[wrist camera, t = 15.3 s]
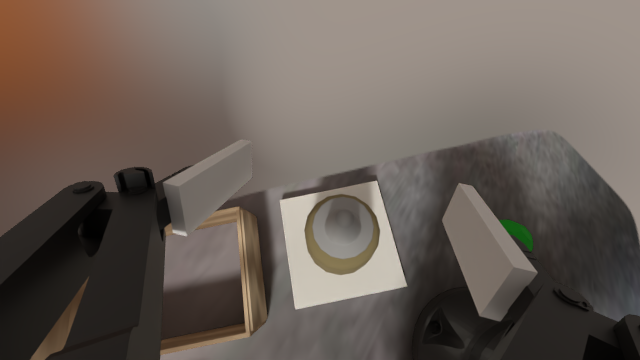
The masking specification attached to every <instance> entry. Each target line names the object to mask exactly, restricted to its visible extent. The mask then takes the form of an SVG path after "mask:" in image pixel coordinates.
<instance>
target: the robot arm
mask: <svg viewBox="0 0 640 360" xmlns="http://www.w3.org/2000/svg"><path fill="white" fill-rule="evenodd" d="M114 178H115V182H116V185H117V188H118V191H119V192H105V189H104V186H103V184H102V183H100V182H95V181H89V182H88V181H84V182H81V183H80V182H78V183H75V184H73V185H70V186H68V187H66V188H64V189H63V190H62V191H60V192H59V193H58V194H56V195H55V196H54V197H52V198H51V199H50V200H48V201H47V202H46V203H44V204H43V205H42V206H40V207H39V208H38V209H37V210H35V211H34V212H33V213H32V214H30V215H29V216H27V217H26V218H25V219H23V220H22V221H21V222H19V223H18V224H17V225H15V226H14V227H13V228H12V229H10V230H9V231H8V232H6V233H5V234H4V235H2V236H1V237H0V360H30V359H31V357H32V356H33V355H34V353H35V352H36V350H37V349H38V348H39V346H40V345H41V343H42V342H43V341H44V339H45V338H46V336H47V335H48V333H49V332H50V331H51V329H52V328H53V326H54V325H55V324H56V322H57V321H58V319H59V318H60V317H61V315H62V314H63V312H64V311H65V309H66V308H67V307H68V305H69V304H70V302H71V301H72V300H73V298H74V297H75V295H76V294H77V293H78V291H79V290H80V288H81V287H82V285H83V284H84V283H85V281H86V280H87V278H88V277H89V278H88V281H87V284H86V287H85V290H84V292H83V295H82V298H81V301H80V304H79V307H78V309H77V312H76V315H75V318H74V321H73V324H72V326H71V329H70V332H69V335H68V338H67V341H66V343H65V345H64V347H63V349H62V350H61V351H58V352H55V353H52V354H50V355H49V356H48V357H47V358H46V359H45V360H160V349H161V327H162V305H163V283H164V261H165V239H166V232H165V227H166V226H167V225H169V224H170V223H171V226H172V231H173V233H176V234H179V235H183V236H188V235H189V234H191V233H192V232H193V231H194V230H195V229H196V228H197V227H198V226H199V225H201V224H202V223H203V222H204V221H205V220H206V219H207V218H208V217H209V216H211V215H212V214H213V213H214V212H215V211H216V210H217V209H218V208H219V207H221V206H222V205H223V204H224V203H225V202H226V201H227V200H228V199H229V198H230V197H232V196H233V195H234V194H235V193H236V192H237V191H238V190H239V189H240V188H242V187H243V186H244V185H245V184H246V183H247V182H248V181H249V180H250V179H252V141H247V140H242V139H241V140H239V141H237V142H235V143H234V144H232V145H230V146H228V147H226V148H224V149H223V150H221V151H219V152H217V153H215V154H214V155H212V156H210V157H208V158H206V159H205V160H203V161H201V162H199V163H197V164H195V165H192V166H188V167H185V168H183V169H181V170H179V171H178V172H176V173H174V174H172V175H171V176H168V177H166V178H164V179H163V180H161V181H159V182H157V183H154V178H153V174H152V171H151V170H150V169H149V168H144V167H134V168H127V169H123V170H120V171H118V172H116V173H115V174H114ZM442 222H443V225H444V227H445V230H446V232H447V235H448V237H449V240H450V242H451V245H452V247H453V250H454V253H455V255H456V258H457V260H458V263H459V265H460V268H461V270H462V273H463V275H464V278H465V280H466V283H467V285H468V287H462V288H455V289H451V290H448V291H445V292H443V293H441V294H440V295H438V296H436V297H435V298H434V299H433V300H431V301H430V302H429V303H428V305H427V306H426V307H425V308H424V310H423V311H422V313H421V314H420V316H419V318H418V321H417V323H416V326H415V330H414V335H413V343H412V354H413V360H640V316H636V315H630V314H629V315H627V316H625V317H624V318H622V319H621V320H620V321H619V322H617V321H615V320H612V319H610V318H608V317H605V316H603V315H601V314H599V313H596V312H594V311H593V307H592V306H591V305H590V303H589V302H588V301H587V300H586V299H585V298H584V297H582V296H581V295H580V294H579V293H577V292H575V291H574V290H572V289H571V288H569V287H567V286H565V285H563V284H560V283H556V282H555V281H554V280H553V279H552V278H551V276H550V275H549V274H548V273H547V271H546V270H545V269H544V268H543V266H542V265H541V264H540V263H539V261H536V258H535V256H534V255H533V254H531V251H530V250H529V249H528V248H527V246H526V245H525V244H524V243H523V242H521V241H520V240H519V239H518V238H516V237H515V236H514V235H510V234H508V232H507V231H506V230H505V228H504V227H503V226H502V224H501V223H500V222H499V220H498V219H497V218H496V217H495V215H494V214H493V213H492V211H491V210H490V209H489V207H488V206H487V205H486V203H485V202H484V201H483V199H482V198H481V197H480V195H479V194H478V193H477V191H476V190H475V189H474V187H473V186H471V185H466V184H461V183H458V185H457V188H456V190H455V192H454V194H453V197H452V199H451V201H450V203H449V206H448V208H447V210H446V212H445V215H444V217H443V219H442Z"/></svg>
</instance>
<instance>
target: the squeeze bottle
mask: <svg viewBox="0 0 640 360" xmlns="http://www.w3.org/2000/svg"><path fill="white" fill-rule="evenodd" d="M304 232H305V238H306V245H307V250H308V253H309V254H310V256H311V258H312V259H313V261H314V263H315V264H316V265H318V266H319V267H320V268H322V269H323V270H324V271H326V272H328V273H333V274H337V275H345V274H350V273H354V272H356V271H357V270H359V269H360V268H361V267H363V266H364V265H366V264H367V262H368V261H369V260H370V259H371V257H372V256H373V254H374V252H375V251H376V249H377V247H378V244H379V236H380V228H379V224H378V220H377V216H376V215H375V214H374V212H373V211H372V210H371V208H370V207H369V205H368V204H366V203H365V202H363V201H362V200H360V199H358V198H357V197H355V196H350V195H345V194H338V195H333V196H328V197H326V198H325V199H323V200H321V201H320V202H318V203H317V204H316V205H315V206H314V207H313V209H312V210H311V212H310V213H309V214H308V216H307V220H306V225H305V229H304Z"/></svg>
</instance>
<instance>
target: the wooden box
mask: <svg viewBox="0 0 640 360" xmlns="http://www.w3.org/2000/svg"><path fill="white" fill-rule="evenodd" d="M232 222H237V229H238V241H239V253H240V266H241V278H242V291H243V303H244V316H245V323H241V324H237V325H232V326H227V327H222V328H217V329H212V330H207V331H203V332H198V333H193V334H188V335H183V336H178V337H173V338H169V339H164V340H161V349H160V355H163V354H168V353H173V352H177V351H182V350H187V349H192V348H197V347H202V346H206V345H211V344H216V343H221V342H226V341H231V340H235V339H240V338H245V337H250V336H251V335H252V334H253V333H254V332H256V331H257V330H258V329H259V328H260V327H261V326H262V325H263V324H264V323H266V319H267V309H266V300H265V290H264V281H263V272H262V262H261V253H260V244H259V235H258V225H257V217H255V215H254V214H252V213H250V212H248V211H246V210H245V209H243V208H241V207H239V206H238V207H233V208H228V209H224V210H219V211H215V212H214V213H213V214H212V215H211V216H209V217H208V218H207V219H206V220H205V221H204V222H203V223H202V224H201V225H199V226H198V227H197V228H196V229H195V230H198V229H203V228H208V227H213V226H217V225H222V224H227V223H232ZM165 232H166V236H168V235H173V234H176V233H173V231H172V226H171V223H170V224H169V225H167V226H166V227H165ZM88 278H89V277H88ZM88 278H87V280H86V281H85V283H84V284H83V285H82V287H81V288H80V290H79V291H78V293H77V294H76V295H75V297H74V298H73V300H72V301H71V302H70V304H69V305H68V307H67V308H66V309H65V311H64V312H63V314H62V315H61V317H60V318H59V319H58V321H57V322H56V324H55V325H54V326H53V328H52V329H51V331H50V332H49V333H48V335H47V336H46V338H45V339H44V341H43V342H42V343H41V345H40V346H39V348H38V349H37V350H36V352H35V353H34V355H33V356H32V357H31V359H30V360H45V359H46V358H47V357H48V356H49V355H50V354H52V353H55V352H58V351H61V350H62V349H63V347H64V345H65V343H66V341H67V338H68V335H69V332H70V329H71V326H72V324H73V321H74V318H75V315H76V312H77V309H78V307H79V304H80V301H81V298H82V295H83V292H84V290H85V287H86V284H87V281H88Z"/></svg>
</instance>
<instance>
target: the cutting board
mask: <svg viewBox="0 0 640 360" xmlns="http://www.w3.org/2000/svg"><path fill="white" fill-rule="evenodd" d="M338 194H345V195H350V196H355V197H357V198H358V199H360V200H362V201H363V202H365V203H366V204H368V205H369V207H370V208H371V210H372V211H373V212H374V214H375V215H376V216H377V220H378V224H379V228H380V236H379V244H378V247H377V249H376V251H375V252H374V254H373V256H372V257H371V259H370V260H369V261H368V262H367V264H366V265H364V266H363V267H361V268H360V269H359V270H357V271H356V272H354V273H350V274H345V275H337V274H333V273H328V272H326V271H324V270H323V269H322V268H320V267H319V266H318V265H316V264H315V263H314V261H313V259H312V258H311V256H310V254H309V253H308V250H307V245H306V238H305V232H304V229H305V225H306V220H307V216H308V214H309V213H310V212H311V210H312V209H313V207H314V206H315V205H316V204H317V203H318V202H320V201H321V200H323V199H325V198H326V197H328V196H333V195H338ZM280 205H281V212H282V219H283V226H284V233H285V240H286V247H287V254H288V261H289V268H290V275H291V282H292V290H293V297H294V304H295V309H300V308H305V307H310V306H315V305H319V304H324V303H329V302H334V301H339V300H344V299H349V298H353V297H358V296H363V295H368V294H373V293H378V292H383V291H387V290H392V289H397V288H402V287H407V284H406V281H405V277H404V274H403V270H402V267H401V263H400V260H399V256H398V253H397V249H396V246H395V242H394V239H393V235H392V232H391V228H390V225H389V221H388V218H387V214H386V211H385V207H384V204H383V200H382V197H381V193H380V190H379V186H378V183H377V181H372V182H367V183H362V184H357V185H353V186H348V187H343V188H338V189H333V190H328V191H323V192H318V193H313V194H308V195H303V196H298V197H293V198H288V199H283V200H280Z"/></svg>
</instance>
